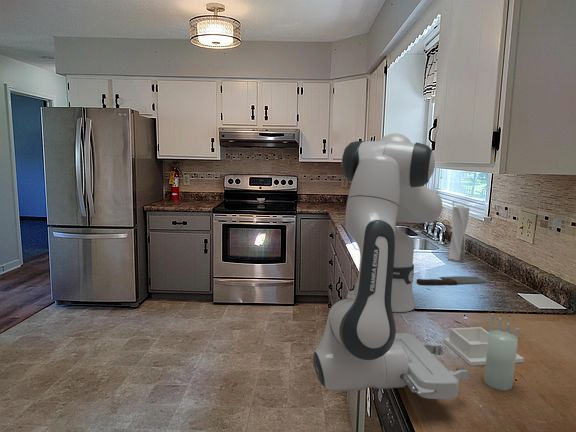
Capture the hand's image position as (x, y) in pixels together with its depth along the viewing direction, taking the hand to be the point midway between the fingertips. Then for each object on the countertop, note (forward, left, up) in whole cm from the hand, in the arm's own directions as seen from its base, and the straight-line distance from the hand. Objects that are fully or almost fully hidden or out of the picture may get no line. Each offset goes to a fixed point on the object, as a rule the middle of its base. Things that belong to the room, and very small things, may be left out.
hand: (453, 360), depth 82 cm
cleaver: (-25, +73, -7) cm, 78 cm away
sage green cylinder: (+7, +8, -6) cm, 13 cm away
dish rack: (+1, +21, -6) cm, 22 cm away
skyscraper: (-35, +109, -6) cm, 115 cm away
